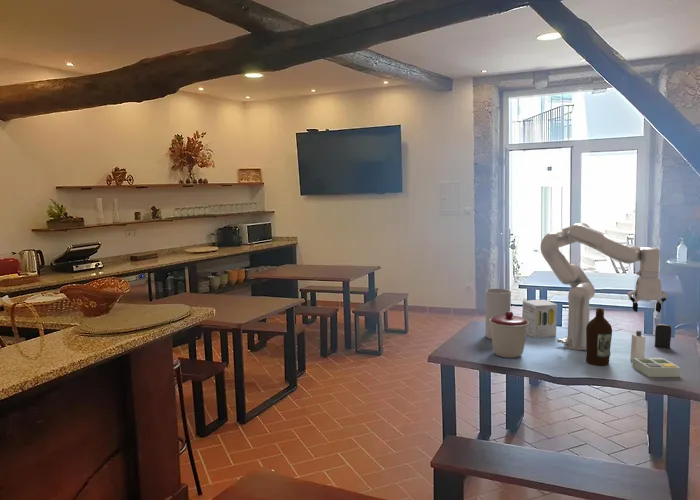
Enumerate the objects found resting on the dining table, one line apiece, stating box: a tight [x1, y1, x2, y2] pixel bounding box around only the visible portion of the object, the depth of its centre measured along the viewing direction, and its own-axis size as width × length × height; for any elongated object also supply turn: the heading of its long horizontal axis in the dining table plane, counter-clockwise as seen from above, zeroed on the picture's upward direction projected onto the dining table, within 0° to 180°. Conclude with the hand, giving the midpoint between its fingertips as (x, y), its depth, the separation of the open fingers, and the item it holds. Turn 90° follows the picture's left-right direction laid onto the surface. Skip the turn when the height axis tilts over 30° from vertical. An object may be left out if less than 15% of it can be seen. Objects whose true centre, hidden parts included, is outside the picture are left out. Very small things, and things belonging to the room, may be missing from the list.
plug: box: [630, 330, 646, 362], centre depth 244 cm, size 4×4×14 cm
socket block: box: [632, 357, 681, 378], centre depth 230 cm, size 13×13×4 cm
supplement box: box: [521, 299, 558, 339], centre depth 289 cm, size 13×13×18 cm
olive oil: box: [585, 307, 613, 367], centre depth 241 cm, size 11×11×25 cm
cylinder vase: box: [484, 288, 512, 340], centre depth 283 cm, size 12×12×25 cm
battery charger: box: [654, 323, 673, 349], centre depth 266 cm, size 7×4×11 cm, turn 62°
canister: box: [489, 310, 529, 359], centre depth 253 cm, size 18×18×21 cm
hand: (646, 311), depth 246 cm, fingers open, 9 cm apart
